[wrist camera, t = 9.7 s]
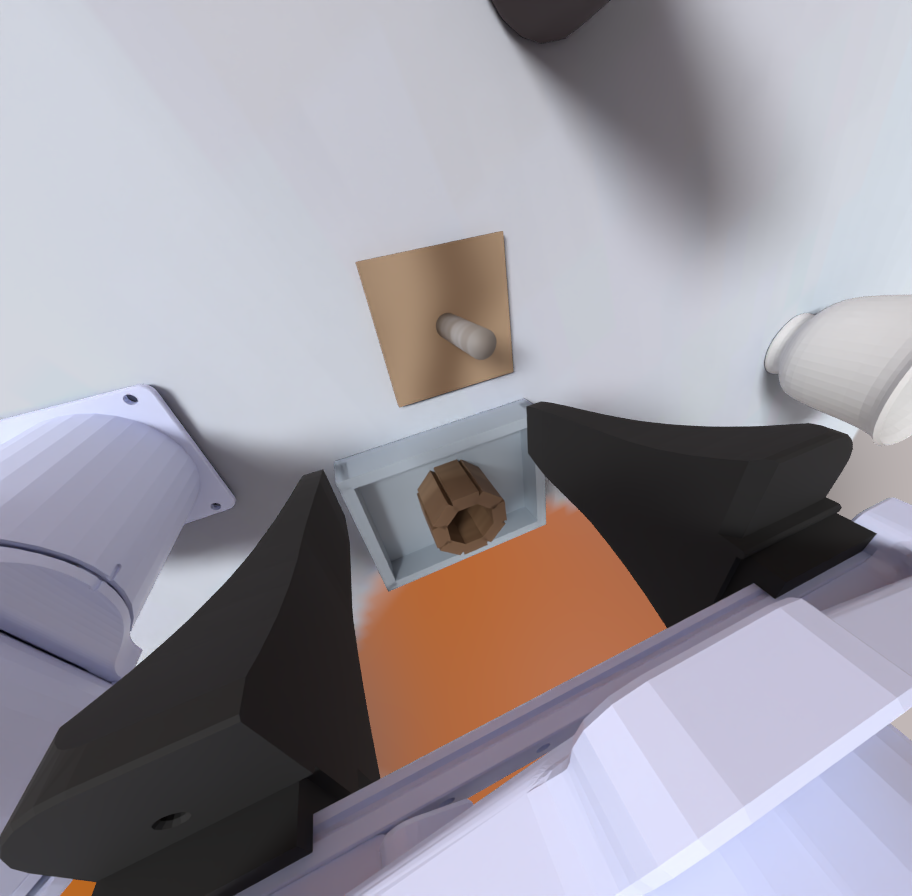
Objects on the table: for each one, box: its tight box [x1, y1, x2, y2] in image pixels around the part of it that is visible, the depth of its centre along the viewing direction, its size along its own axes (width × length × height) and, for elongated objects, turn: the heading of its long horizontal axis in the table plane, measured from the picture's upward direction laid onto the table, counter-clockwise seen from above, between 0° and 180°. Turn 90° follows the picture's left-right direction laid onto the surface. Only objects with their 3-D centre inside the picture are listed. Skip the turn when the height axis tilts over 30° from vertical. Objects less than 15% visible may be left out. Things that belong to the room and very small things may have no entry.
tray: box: [334, 398, 546, 591], centre depth 25 cm, size 14×11×2 cm
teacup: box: [765, 295, 912, 446], centre depth 28 cm, size 12×15×10 cm
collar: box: [417, 459, 507, 555], centre depth 23 cm, size 5×5×4 cm
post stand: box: [356, 231, 513, 407], centre depth 17 cm, size 8×8×6 cm
